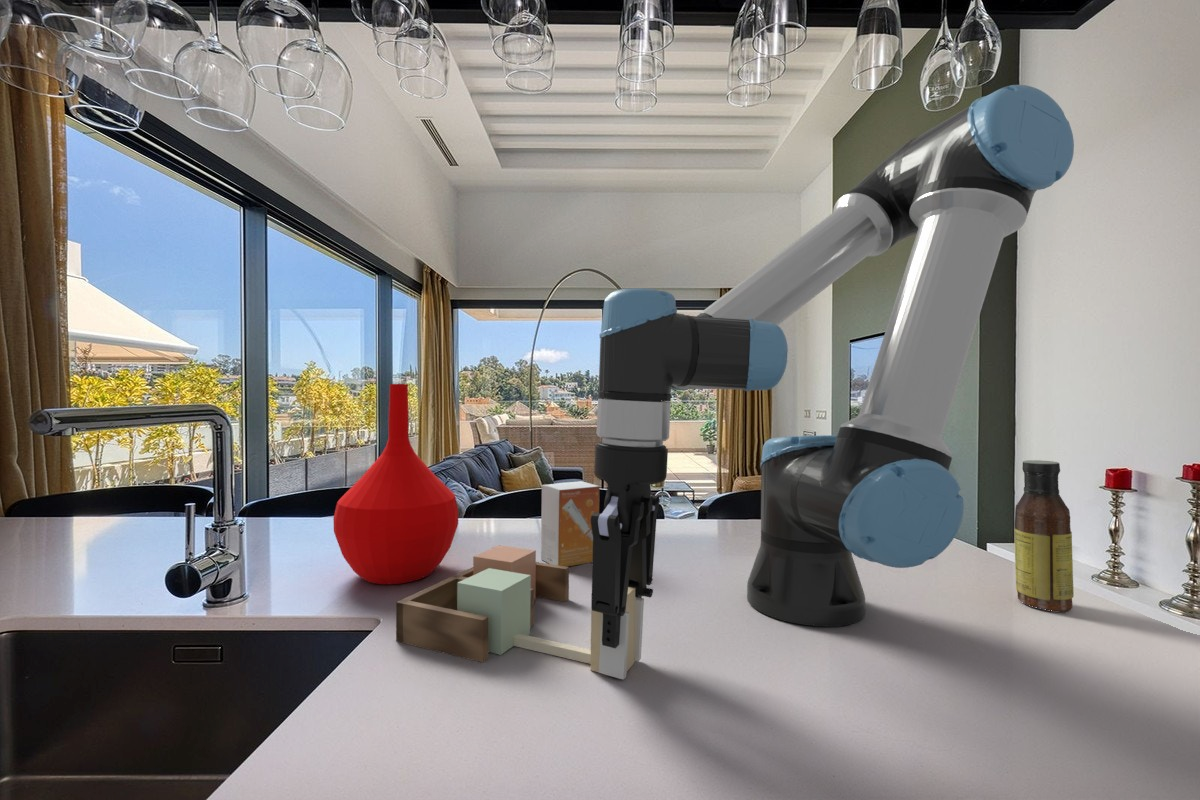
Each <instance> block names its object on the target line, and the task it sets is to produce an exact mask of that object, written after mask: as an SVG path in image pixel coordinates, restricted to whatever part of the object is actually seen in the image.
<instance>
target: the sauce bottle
mask: <svg viewBox="0 0 1200 800" xmlns="http://www.w3.org/2000/svg"><path fill="white" fill-rule="evenodd" d="M1022 471H1023V475H1024V479H1023V481H1024V487H1023V494H1022V496H1021V498H1020V499H1019V501H1018V502H1017V504H1016V505H1015V510H1014V513H1015V514H1014V562H1015V565H1014V566H1015V589H1016V593H1017V599H1018V601H1020V603H1022V602H1023V603H1022V604H1024V603H1025V604H1024V605H1026V604H1028V605H1030V606H1033V607H1037V608H1041V609H1040V610H1042V609H1046V610H1050V611H1049V612H1051V610H1052V611H1059V612H1058V613H1065V612H1069V611H1071V610H1072V608H1073V598H1074V596H1075V595H1074V574H1073V573H1074V572H1073V571H1074V567H1073V566H1074V564H1073V563H1074V562H1073V561H1074V560H1073V532H1072V530H1071V513H1070V508H1068V506H1067V505H1066V503H1065V502H1064V500H1063V498H1062V496H1061V495H1060V489H1059V474H1060V473H1061V468H1060V462H1058V461H1053V460H1041V459H1038V460H1037V459H1031V460H1030V459H1029V460H1023V461H1022ZM1028 605H1027V606H1028ZM1046 610H1045V611H1046ZM1063 611H1065V612H1063Z"/></svg>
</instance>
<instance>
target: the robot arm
mask: <svg viewBox="0 0 1200 800" xmlns="http://www.w3.org/2000/svg"><path fill="white" fill-rule="evenodd" d="M1074 148H1075V140H1074V134H1073V130H1072V128H1071V124H1070V122H1069V120H1068V119H1067V117H1066V115H1065V112H1064V110H1063V109H1062V107H1061V106H1060V105H1059V104H1058V103H1057V102H1056V100H1055V99H1053V98H1052V97H1051V96H1050V95H1049V94H1047V93H1046V92H1045V91H1043V90H1041V89H1039V88H1036V87H1033V86H1031V85H1027V84H1012V85H1007V86H1004V87H1001V88H999V89H997V90H995V91H993V92H992V93H990V94H988V95H986V96H981V97H979V98H977V99H975V100H974V101H973V102H972V103H971V104H970V105H969V106H968V107H966V108H964V109H962V110H961V111H958V112H957V113H956V114H954V115H952V116H950V117H949V118H947V119H944V120H943V121H942V122H941V123H938V124H937V125H935V126H933V127H932V128H930V129H928V130H926V131H925V132H924V133H922V134H920V135H918V136H916V137H914V138H913V139H910V140H908V142H905V144H903V145H901V146H900V147H899V148H898V149H897V150H895V151H894V152H893V153H891V154H890V155H889V156H888V157H887V158H886V159H884V160H883V161H882V162H881V163H880V164H879V165H877V167H876V168H874V169H873V170H872V171H871V172H870V173H869V174H867V175H866V176H865V177H863V179H862V180H860V182H858V183H857V184H856V185H855V186H853V188H851V189H849V191H847V192H846V193H845V194H843V195H842V196H841V197H840V198H838V199H837V201H836V202H835V204H834V206H833V209H832V213H831V214H829V215H828V216H826V217H825V218H823V220H822V221H820V222H818V224H816V225H814V227H812V228H811V229H810V230H808V231H807V232H805V233H804V234H803V235H801V236H800V237H799V238H797V239H796V240H795V241H794V242H792V243H790V244H789V245H788V246H787V247H786V248H784V249H783V250H782V251H781V252H779V253H778V254H776V255H775V256H773V258H771V259H770V260H768V261H767V262H766V263H764V264H763V265H762V266H760V267H759V268H757V270H755V271H754V272H753V273H751V274H750V275H748V276H747V277H746V278H744V279H743V280H741V282H739V283H738V284H736V285H735V286H734V287H732V288H730V290H728V291H727V292H725V294H722V296H721V297H720V298H718V299H717V300H716V301H714V302H713V303H711V304H710V305H708V307H706V308H705V309H704V310H702V311H701V312H700V313H699V314H698V315H689V314H688V315H687V314H684V313H678V308H677V307H676V304H677V303H676V298H675V296H674V295H673V294H672V293H670V292H669V291H665V290H658V289H656V288H643V287H642V288H639V287H638V288H635V287H634V288H622V289H617V290H616V289H615V290H613V291H612V292H611V293H609V294H608V295H607V296H606V297H605V298H604V302H603V311H602V320H601V328H600V334H599V341H600V342H599V343H600V344H599V367H598V371H599V372H598V392H597V393H598V394H597V395H598V396H597V397H598V399H597V407H595V409H594V412H593V413H594V415H595V416H596V418H597V419H596V433H595V434H596V435H597V437H599V438H600V439H601V441H598V442H597V444H595V447H594V461H593V462H594V463H593V465H594V468H593V473H594V477H595V478H597V479H598V480H600V481H604V482H605V483H606V485H607V488H606V493H605V498H604V503H603V511H602V512H601V513H600V512H599V513H593V514H592V516H591V527H592V533H593V562H591V563H592V569H591V571H592V572H591V576H592V577H591V594H592V605H591V607H592V611H596V612H600V613H602V617H601V636H600V656H599V672H598V673H599V674H602V675H605V676H609V677H612V678H615V679H620V680H625V678H626V677H627V672H626V669H627V650H628V630H629V612H626V602H627V593H628V587H632V588H635V645H634V662H635V661H636V662H639V661H640V660H641V659H642V647H643V645H642V643H643V626H644V624H643V623H644V606H645V605H644V604H645V598H643V597H646V598H649V599H650V598H652V597H653V593H654V589H653V588H649V587H647V586H651V585H652V583H653V575H654V574H653V571H654V561H655V560H654V559H655V558H654V557H655V556H654V555H655V544H656V542H655V541H656V531H657V518H658V511H659V508H660V507H659V505H660V502H661V501H660V500H661V499H660V496H659V495H653V494H652V489H651V488H652V487H651V485H657V484H660V483H663V482H664V481H666V480H667V475H668V474H667V473H668V455H669V454H668V452H669V449H668V448H667V446H666V445H664V442H666V441H668V440H669V438H670V425H671V422H670V421H671V400H672V394H671V392H672V389H673V390H676V391H687V390H689V391H690V390H735V391H736V390H737V391H738V390H740V391H744V392H750V391H769V390H771V389H773V388H775V387H777V385H778V384H780V382H781V380H782V379H783V376H784V373H785V372H786V368H787V365H788V353H789V352H788V351H789V350H788V349H789V347H788V341H787V338H786V335H785V332H784V330H783V329H782V328H781V327H780V326H779V325H781V324H782V323H783V322H784V321H785V320H787V319H788V318H789V317H791V316H792V315H793V314H794V313H796V312H797V311H798V310H799V309H801V308H802V307H803V306H805V305H807V304H808V303H809V302H810V301H811V300H812V299H814V298H815V297H817V296H818V295H819V294H820V293H821V292H823V291H824V290H825V289H827V288H828V287H829V286H831V285H832V284H833V283H834V282H836V281H837V280H838V279H839V278H841V277H842V276H843V275H845V274H846V273H847V272H849V271H850V270H852V268H854V267H856V265H857V264H859V263H860V262H862V261H863V260H865V258H867V257H877V256H880V255H882V254H884V253H886V251H888V250H889V249H890V248H892V247H893V246H895V245H896V244H898V243H899V242H902V241H904V240H905V239H908V238H910V237H912V236H914V235H915V238H914V242H913V244H912V247H911V251H910V254H909V257H908V260H907V264H906V266H905V269H904V272H903V276H902V278H901V282H900V285H899V288H898V292H897V294H896V298H895V300H894V304H893V308H892V309H891V314H890V316H889V318H888V319H889V320H888V323H887V325H886V329H885V332H884V335H883V338H882V341H881V344H880V346H879V347H880V348H879V351H878V354H877V357H876V360H875V363H874V367H873V368H872V369H873V370H872V372H871V375H870V379H869V382H868V386H867V388H866V392H865V395H864V398H863V400H862V404H861V407H860V409H859V413H858V415H857V416H856V417H854V418H852V419H850V420H848V421H846V422H843V423H841V425H840V427H839V430H838V433H837V435H834V434H832V435H831V434H830V435H825V434H824V435H801V436H797V435H796V436H781V437H779V436H778V437H772V438H769V439H768V440H766V441H765V443H764V444H763V446H762V451H761V459H760V466H759V467H760V469H761V471H760V472H761V473H760V475H761V478H760V479H761V480H760V489H761V490H760V543H759V544H760V546H759V548H758V551H757V554H756V557H755V560H754V562H753V565H752V568H751V571H750V574H749V577H748V580H747V586H746V588H747V589H746V592H747V593H746V599H747V602H748V603H749V605H750V606H751V607H753V608H754V609H755V610H756V611H758V612H760V613H762V614H764V615H767V616H769V617H772V618H774V619H777V620H781V621H785V622H788V623H792V624H798V625H804V626H813V627H815V626H816V627H842V626H847V625H848V626H849V625H852V624H855V623H858V622H860V621H861V620H863V619H864V618H865V615H866V594H865V591H864V589H863V585H862V583H861V579H860V575H859V573H858V569H857V567H856V564H855V560H854V557H853V555H854V556H855V557H857V558H859V559H863V560H866V561H869V562H872V563H877V564H881V565H883V566H886V567H891V568H896V569H901V568H902V569H905V568H907V569H908V568H913V567H918V566H921V565H923V564H924V563H925V562H926V561H928V560H933V559H935V558H937V557H938V556H939V555H940V554H941V553H943V552H944V551H945V550H946V549H947V548H948V547H949V546H950V545H951V543H952V542H953V540H954V539H955V537H956V535H957V534H958V532H959V530H960V527H961V525H962V522H963V521H962V520H963V516H964V509H965V507H964V506H965V505H964V497H962V496H961V495H960V494H959V493H960V491H961V487H960V485H959V482H958V480H957V479H956V477H955V476H954V475H953V474H952V473H951V472H949V470H950V468H951V467H950V466H951V463H952V461H953V454H952V452H951V451H950V449H949V448H948V446H947V445H946V443H945V442H944V439H943V437H942V436H943V434H944V431H945V428H946V425H947V421H948V418H949V414H950V411H951V408H952V405H953V402H954V398H955V395H956V393H957V388H958V387H959V386H958V385H959V382H960V379H961V376H962V372H963V369H964V367H965V363H966V360H967V356H968V353H969V350H970V348H971V347H970V346H971V343H972V340H973V338H974V337H973V336H974V333H975V331H976V327H977V326H978V325H977V324H978V321H979V317H980V315H981V311H982V309H983V304H984V302H985V300H986V299H985V298H986V295H987V292H988V289H989V285H990V282H991V279H992V276H993V272H994V270H995V267H996V264H997V260H998V257H999V255H1000V254H999V253H1000V250H1001V247H1002V243H1003V242H1004V238H1006V237H1008V236H1010V235H1011V234H1013V233H1015V232H1017V231H1018V230H1020V229H1021V228H1022V227H1023V226H1024V225H1025V222H1026V221H1027V216H1028V214H1029V211H1030V207H1031V204H1032V202H1033V198H1034V195H1035V193H1036V192H1037V191H1040V190H1045V189H1047V188H1049V187H1052V186H1053V185H1054V184H1055V183H1056V182H1057V181H1059V180H1061V179H1062V178H1063V177H1064V176H1065V175H1066V173H1067V172H1068V170H1069V169H1070V167H1071V165H1072V161H1073V157H1074V154H1075V153H1074V150H1075V149H1074ZM591 607H590V608H591Z"/></svg>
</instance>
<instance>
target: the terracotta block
mask: <svg viewBox="0 0 1200 800" xmlns="http://www.w3.org/2000/svg"><path fill="white" fill-rule="evenodd" d="M536 554H537V552H536V550H535V549H529V548H528V549H527V548H521V547H514V546H507V545H500V544H499V545H497V546H494V547H492V548H490V549H487V550H485V551H483V552H480V553H478V554H476V555H473V557H472V558H473V559H472V560H473V561H472V562H473V563H472V565H473V566H472V567H473V575H475V574H477V573H480V572H482V571H484V570H486V569H488V568H491V569H497V570H503V571H509V572H515V573H521V574H527V575H531V588H532V589H534V602H536V596H535V594H536V562H537V560H536V559H537V558H536V557H537V555H536Z"/></svg>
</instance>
